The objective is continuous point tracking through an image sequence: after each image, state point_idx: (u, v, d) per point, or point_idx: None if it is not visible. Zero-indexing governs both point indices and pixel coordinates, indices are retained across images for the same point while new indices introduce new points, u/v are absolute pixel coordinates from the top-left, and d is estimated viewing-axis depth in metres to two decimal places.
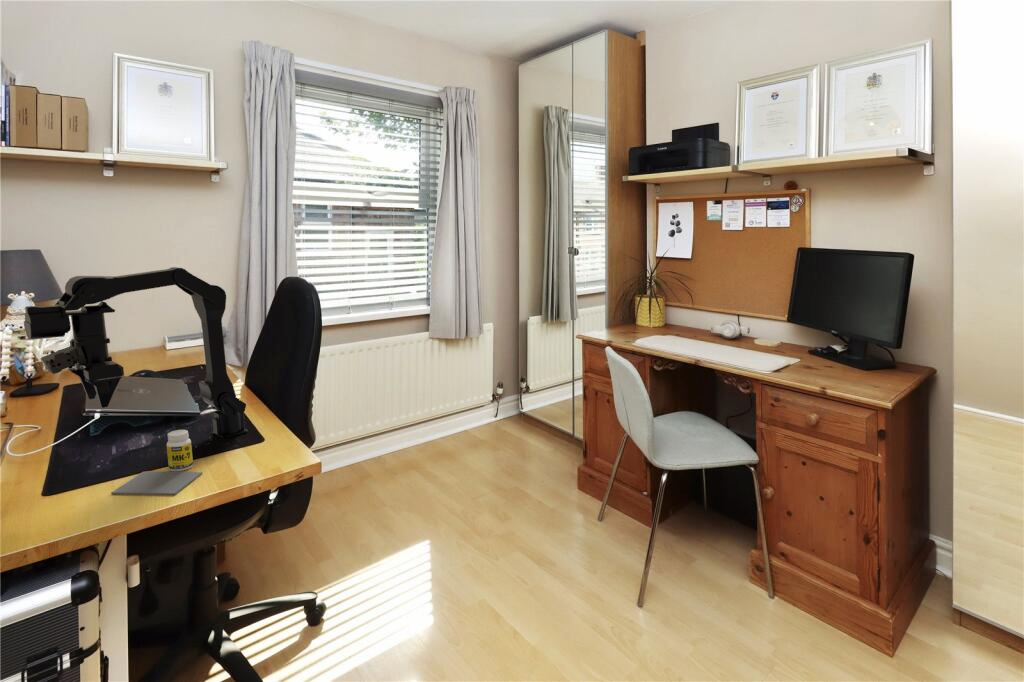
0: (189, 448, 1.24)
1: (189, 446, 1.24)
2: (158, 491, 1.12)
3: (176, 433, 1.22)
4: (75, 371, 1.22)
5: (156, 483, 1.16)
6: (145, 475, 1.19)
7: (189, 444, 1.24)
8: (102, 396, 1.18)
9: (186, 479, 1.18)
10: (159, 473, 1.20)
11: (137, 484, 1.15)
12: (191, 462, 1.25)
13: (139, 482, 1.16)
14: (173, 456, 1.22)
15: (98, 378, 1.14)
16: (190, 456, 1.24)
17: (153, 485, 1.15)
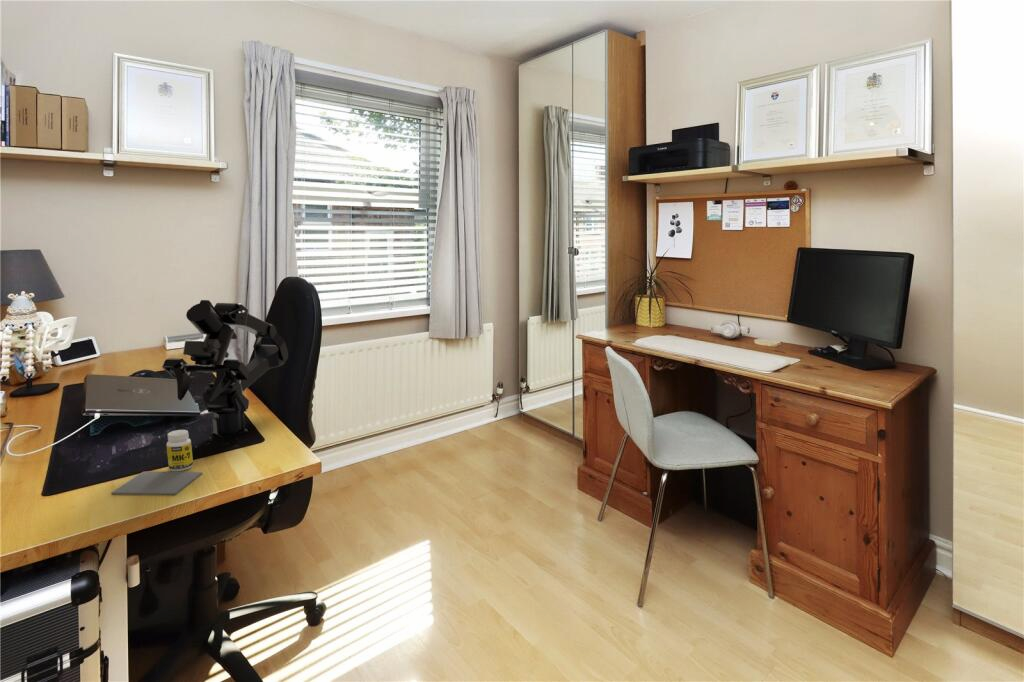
0: (189, 448, 1.24)
1: (189, 446, 1.24)
2: (158, 491, 1.12)
3: (176, 433, 1.22)
4: (182, 370, 1.32)
5: (156, 483, 1.16)
6: (145, 475, 1.19)
7: (189, 444, 1.24)
8: (217, 389, 1.31)
9: (186, 479, 1.18)
10: (159, 473, 1.20)
11: (137, 484, 1.15)
12: (191, 462, 1.25)
13: (139, 482, 1.16)
14: (173, 456, 1.22)
15: (240, 369, 1.33)
16: (190, 456, 1.24)
17: (153, 485, 1.15)
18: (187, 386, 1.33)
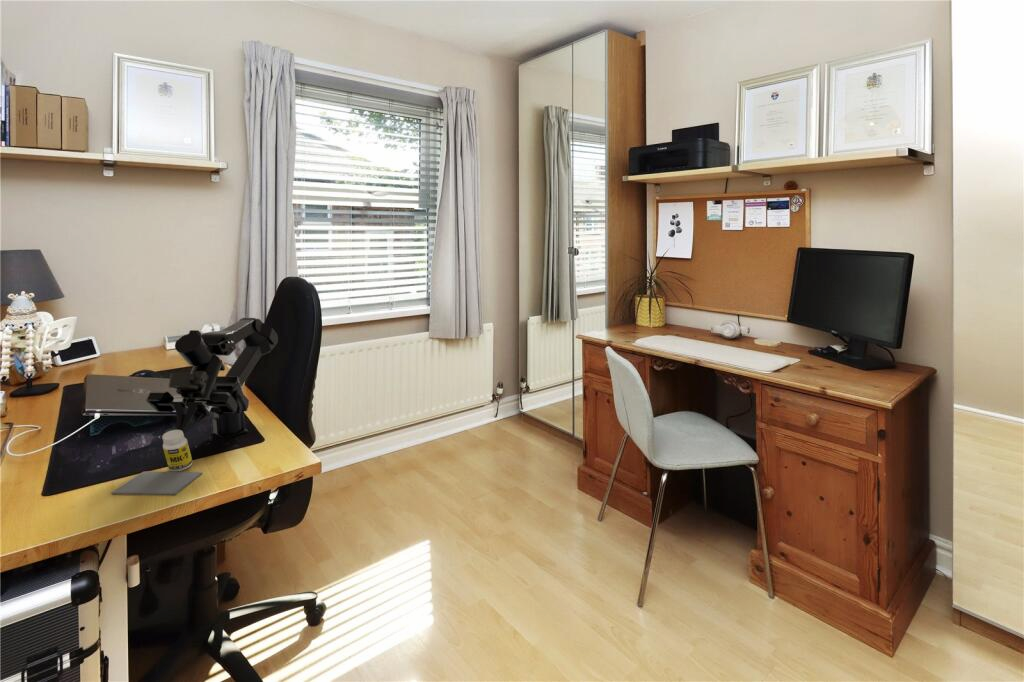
0: (186, 448, 1.22)
1: (186, 446, 1.22)
2: (158, 491, 1.12)
3: (171, 436, 1.20)
4: (182, 404, 1.26)
5: (156, 483, 1.16)
6: (145, 475, 1.19)
7: (186, 445, 1.22)
8: (188, 423, 1.25)
9: (186, 479, 1.18)
10: (159, 473, 1.20)
11: (137, 484, 1.15)
12: (190, 460, 1.24)
13: (139, 482, 1.16)
14: (171, 458, 1.21)
15: (228, 402, 1.27)
16: (188, 455, 1.23)
17: (153, 485, 1.15)
18: None
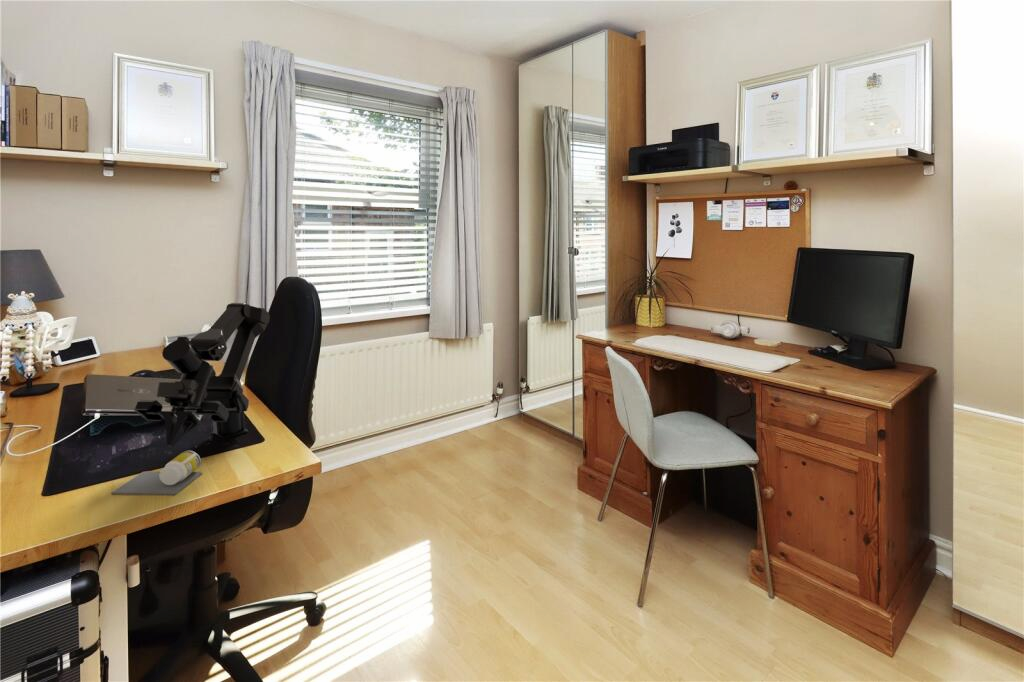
0: None
1: None
2: (158, 491, 1.12)
3: (165, 477, 1.14)
4: (171, 413, 1.22)
5: (156, 483, 1.16)
6: (145, 475, 1.19)
7: None
8: (178, 433, 1.21)
9: (186, 479, 1.18)
10: (159, 473, 1.20)
11: (137, 484, 1.15)
12: None
13: (139, 482, 1.16)
14: None
15: (219, 411, 1.23)
16: None
17: (153, 485, 1.15)
18: None
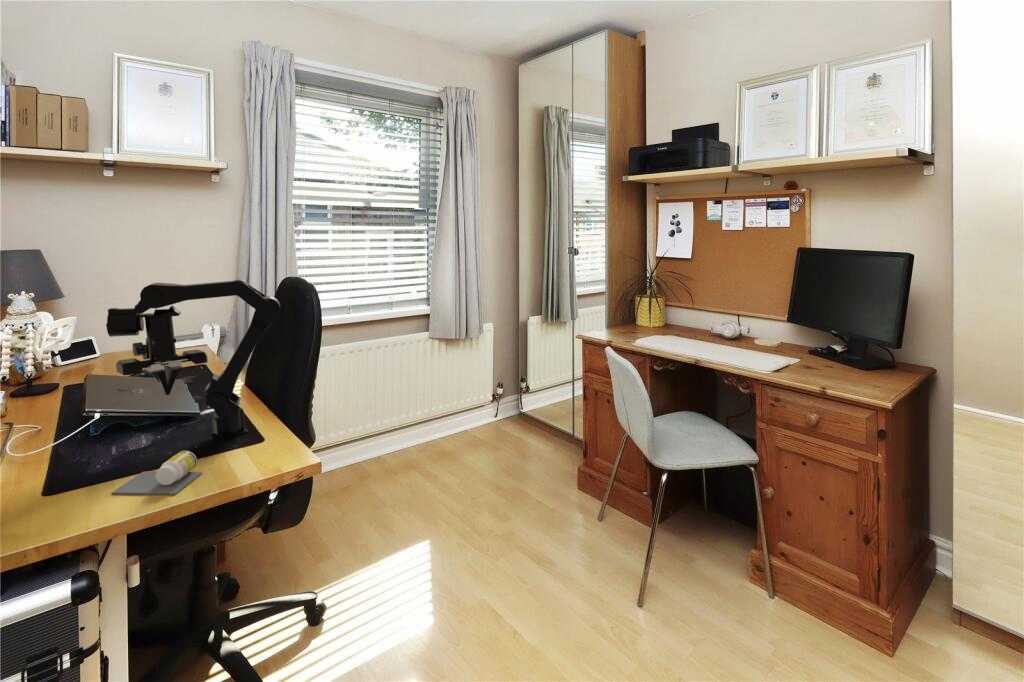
0: None
1: None
2: (158, 491, 1.12)
3: (162, 478, 1.14)
4: (164, 366, 1.39)
5: (156, 483, 1.16)
6: (145, 475, 1.19)
7: (178, 479, 1.17)
8: (160, 385, 1.37)
9: (186, 479, 1.18)
10: None
11: (137, 484, 1.15)
12: None
13: (139, 482, 1.16)
14: None
15: (117, 371, 1.31)
16: None
17: (153, 485, 1.15)
18: (168, 379, 1.37)
